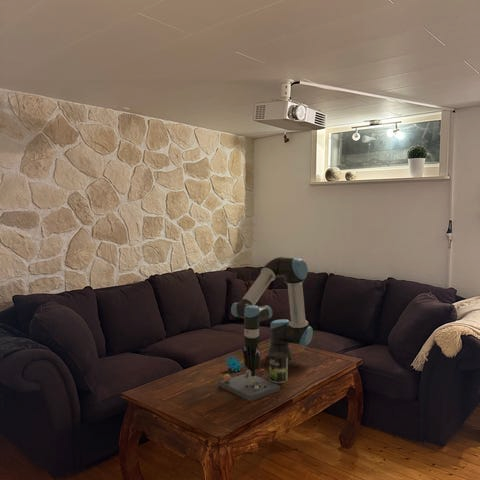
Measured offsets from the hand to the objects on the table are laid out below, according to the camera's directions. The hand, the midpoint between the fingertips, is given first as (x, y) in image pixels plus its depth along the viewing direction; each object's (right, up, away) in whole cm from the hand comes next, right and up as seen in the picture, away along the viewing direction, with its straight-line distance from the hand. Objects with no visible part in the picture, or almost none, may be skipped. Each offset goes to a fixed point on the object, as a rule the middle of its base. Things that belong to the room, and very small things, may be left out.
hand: (251, 381), depth 228 cm
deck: (-2, -4, +2) cm, 5 cm away
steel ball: (+3, -3, -3) cm, 5 cm away
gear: (-9, -3, +28) cm, 30 cm away
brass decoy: (-1, +1, +13) cm, 13 cm away
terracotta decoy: (-12, +1, +3) cm, 13 cm away
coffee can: (+15, -4, +14) cm, 21 cm away
